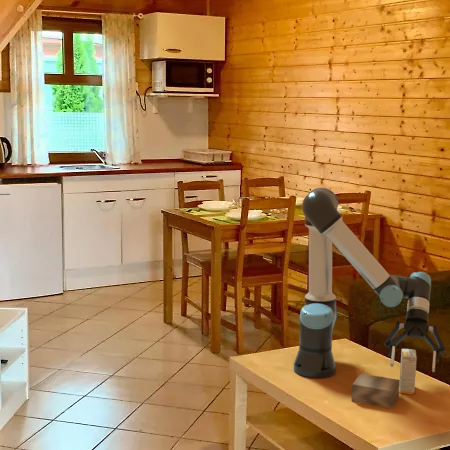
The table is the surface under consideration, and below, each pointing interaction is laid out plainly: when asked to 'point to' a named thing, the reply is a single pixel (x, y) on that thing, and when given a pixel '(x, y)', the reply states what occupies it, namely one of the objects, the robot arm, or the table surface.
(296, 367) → the robot arm
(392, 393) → the walnut block
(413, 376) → the supplement box
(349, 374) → the table surface
